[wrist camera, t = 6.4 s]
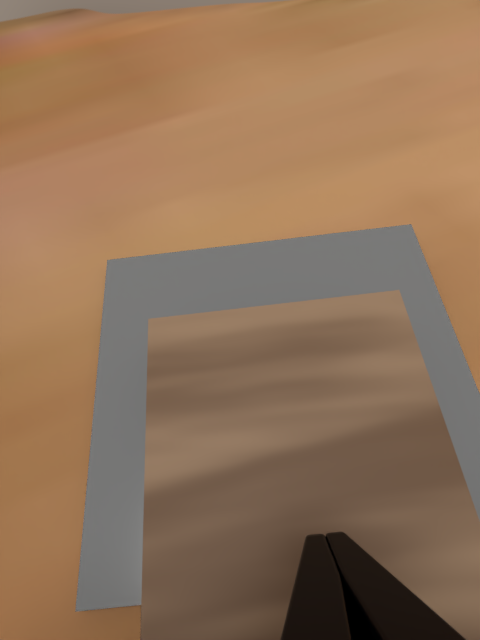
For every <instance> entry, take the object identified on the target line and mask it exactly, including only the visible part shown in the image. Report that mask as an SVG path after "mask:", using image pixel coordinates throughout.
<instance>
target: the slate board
mask: <svg viewBox="0 0 480 640" xmlns="http://www.w3.org/2000/svg"><path fill="white" fill-rule="evenodd" d="M394 290H399V291H400V293H401V296H402V299H403V302H404V305H405V308H406V311H407V314H408V316H409V319H410V322H411V325H412V328H413V331H414V334H415V337H416V340H417V342H418V345H419V348H420V351H421V354H422V357H423V360H424V363H425V365H426V368H427V371H428V374H429V377H430V380H431V383H432V386H433V388H434V391H435V394H436V397H437V400H438V403H439V406H440V409H441V411H442V414H443V417H444V420H445V423H446V426H447V429H448V432H449V435H450V437H451V440H452V443H453V446H454V449H455V452H456V455H457V458H458V460H459V463H460V466H461V469H462V472H463V475H464V478H465V481H466V483H467V486H468V489H469V492H470V495H471V498H472V501H473V504H474V506H475V509H476V512H477V515H478V518H479V521H480V394H479V391H478V389H477V386H476V384H475V381H474V379H473V376H472V374H471V371H470V369H469V367H468V364H467V362H466V359H465V357H464V354H463V352H462V349H461V347H460V344H459V342H458V339H457V337H456V334H455V332H454V329H453V327H452V324H451V322H450V319H449V317H448V315H447V312H446V310H445V307H444V305H443V302H442V300H441V297H440V295H439V292H438V290H437V287H436V285H435V282H434V280H433V277H432V275H431V272H430V270H429V267H428V265H427V263H426V260H425V258H424V255H423V253H422V250H421V248H420V245H419V243H418V240H417V238H416V235H415V233H414V230H413V228H412V225H411V224H410V225H401V226H393V227H384V228H376V229H367V230H359V231H350V232H342V233H333V234H325V235H316V236H308V237H299V238H291V239H282V240H274V241H265V242H257V243H249V244H240V245H232V246H223V247H215V248H206V249H198V250H189V251H181V252H172V253H164V254H155V255H147V256H138V257H130V258H121V259H113V260H107V270H106V281H105V292H104V303H103V314H102V325H101V336H100V347H99V358H98V369H97V380H96V391H95V402H94V413H93V424H92V435H91V446H90V457H89V468H88V479H87V490H86V501H85V512H84V523H83V534H82V545H81V556H80V567H79V578H78V589H77V600H76V611H86V610H95V609H105V608H115V607H125V606H134V605H141V597H142V556H143V515H144V475H145V434H146V393H147V352H148V319H151V318H160V317H169V316H177V315H186V314H195V313H203V312H212V311H221V310H229V309H238V308H247V307H255V306H264V305H273V304H281V303H290V302H299V301H307V300H316V299H325V298H333V297H342V296H351V295H359V294H368V293H377V292H385V291H394ZM76 611H75V612H76Z"/></svg>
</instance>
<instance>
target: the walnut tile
mask: <svg viewBox="0 0 480 640" xmlns="http://www.w3.org/2000/svg"><path fill="white" fill-rule="evenodd" d="M340 531H342V532H344V533H346V534H347V535H348V536H349V537H350V538H351V539H352V540H354V541H355V542H356V543H357V544H358V545H359V546H360V547H362V548H363V549H364V550H365V551H366V552H367V553H368V554H370V555H371V556H372V557H373V558H374V559H375V560H376V561H378V562H379V563H380V564H381V565H382V566H383V567H384V568H386V569H387V570H388V571H389V572H390V573H391V574H392V575H393V576H395V577H396V578H397V579H398V580H399V581H400V582H401V583H403V584H404V585H405V586H406V587H407V588H408V589H409V590H411V591H412V592H413V593H414V594H415V595H416V596H417V597H419V598H420V599H421V600H422V601H423V602H424V603H425V604H427V605H428V606H429V607H430V608H431V609H432V610H433V611H434V612H436V613H437V614H438V615H439V616H440V617H441V618H442V619H444V620H445V621H446V622H447V623H448V624H449V625H450V626H452V627H453V628H454V629H455V630H456V631H457V632H458V633H460V634H461V635H462V636H463V637H464V638H465V639H466V640H480V521H479V518H478V515H477V512H476V509H475V506H474V504H473V501H472V498H471V495H470V492H469V489H468V486H467V483H466V481H465V478H464V475H463V472H462V469H461V466H460V463H459V460H458V458H457V455H456V452H455V449H454V446H453V443H452V440H451V437H450V435H449V432H448V429H447V426H446V423H445V420H444V417H443V414H442V411H441V409H440V406H439V403H438V400H437V397H436V394H435V391H434V388H433V386H432V383H431V380H430V377H429V374H428V371H427V368H426V365H425V363H424V360H423V357H422V354H421V351H420V348H419V345H418V342H417V340H416V337H415V334H414V331H413V328H412V325H411V322H410V319H409V316H408V314H407V311H406V308H405V305H404V302H403V299H402V296H401V293H400V291H399V290H394V291H385V292H377V293H368V294H359V295H351V296H342V297H333V298H325V299H316V300H307V301H299V302H290V303H281V304H273V305H264V306H255V307H247V308H238V309H229V310H221V311H212V312H203V313H195V314H186V315H177V316H169V317H160V318H151V319H148V352H147V393H146V434H145V475H144V515H143V556H142V597H141V638H140V640H280V639H281V635H282V631H283V627H284V623H285V618H286V614H287V610H288V606H289V602H290V598H291V594H292V590H293V586H294V582H295V578H296V574H297V570H298V566H299V562H300V557H301V553H302V549H303V545H304V541H305V538H306V536H307V535H312V534H324V535H326V534H327V533H330V532H340Z"/></svg>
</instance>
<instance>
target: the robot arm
mask: <svg viewBox="0 0 480 640" xmlns="http://www.w3.org/2000/svg"><path fill="white" fill-rule="evenodd" d="M280 640H466V639H465V638H464V637H463V636H462V635H461V634H460V633H458V632H457V631H456V630H455V629H454V628H453V627H452V626H450V625H449V624H448V623H447V622H446V621H445V620H444V619H442V618H441V617H440V616H439V615H438V614H437V613H436V612H434V611H433V610H432V609H431V608H430V607H429V606H428V605H427V604H425V603H424V602H423V601H422V600H421V599H420V598H419V597H417V596H416V595H415V594H414V593H413V592H412V591H411V590H409V589H408V588H407V587H406V586H405V585H404V584H403V583H401V582H400V581H399V580H398V579H397V578H396V577H395V576H393V575H392V574H391V573H390V572H389V571H388V570H387V569H386V568H384V567H383V566H382V565H381V564H380V563H379V562H378V561H376V560H375V559H374V558H373V557H372V556H371V555H370V554H368V553H367V552H366V551H365V550H364V549H363V548H362V547H360V546H359V545H358V544H357V543H356V542H355V541H354V540H352V539H351V538H350V537H349V536H348V535H347V534H346V533H344V532H342V531H340V532H330V533H327V534H326V535H324V534H312V535H307V536H306V538H305V541H304V545H303V549H302V553H301V557H300V562H299V566H298V570H297V574H296V578H295V582H294V586H293V590H292V594H291V598H290V602H289V606H288V610H287V614H286V618H285V623H284V627H283V631H282V635H281V639H280Z"/></svg>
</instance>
